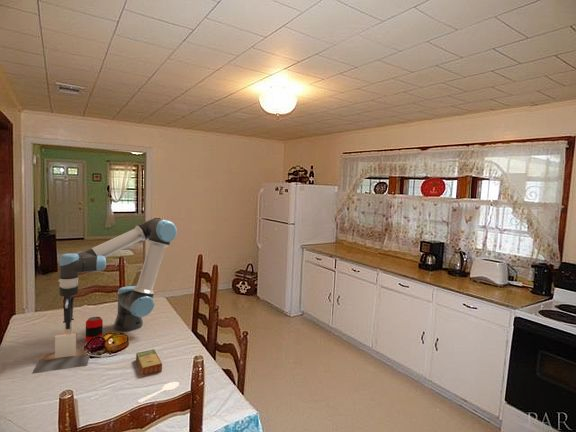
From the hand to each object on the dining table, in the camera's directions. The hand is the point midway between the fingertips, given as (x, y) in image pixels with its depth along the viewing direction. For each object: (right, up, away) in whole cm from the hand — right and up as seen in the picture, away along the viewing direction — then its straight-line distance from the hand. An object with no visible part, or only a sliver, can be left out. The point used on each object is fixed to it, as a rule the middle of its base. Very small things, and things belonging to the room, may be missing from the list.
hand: (68, 334), depth 163 cm
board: (+4, -9, -9) cm, 14 cm away
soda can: (+5, -8, +13) cm, 16 cm away
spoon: (+54, -14, -28) cm, 63 cm away
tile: (+2, -8, -6) cm, 10 cm away
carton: (+42, -12, -8) cm, 44 cm away
